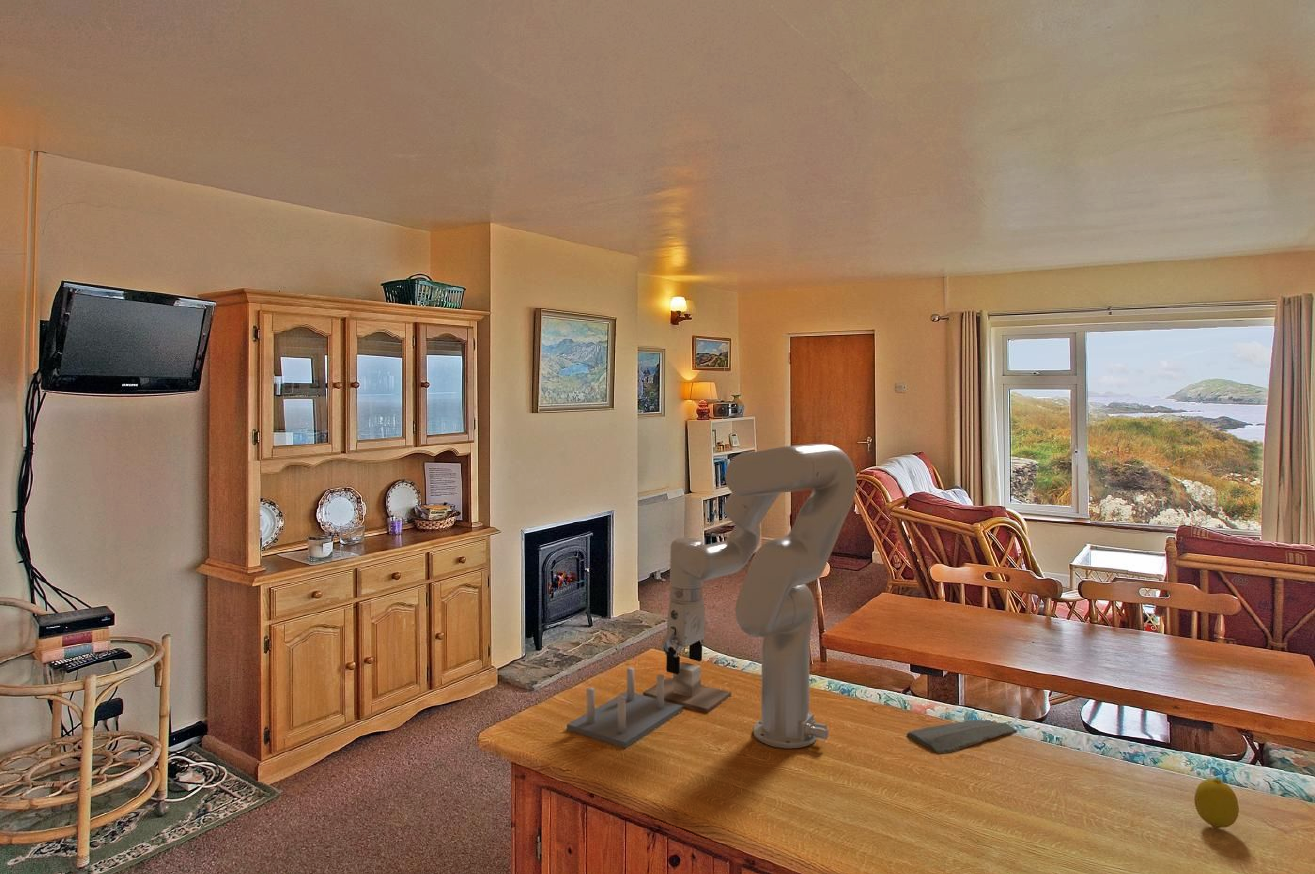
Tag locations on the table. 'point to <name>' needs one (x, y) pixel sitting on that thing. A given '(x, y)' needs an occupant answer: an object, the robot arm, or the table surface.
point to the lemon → (1216, 803)
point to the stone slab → (958, 735)
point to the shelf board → (689, 702)
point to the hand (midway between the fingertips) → (684, 666)
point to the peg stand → (625, 715)
